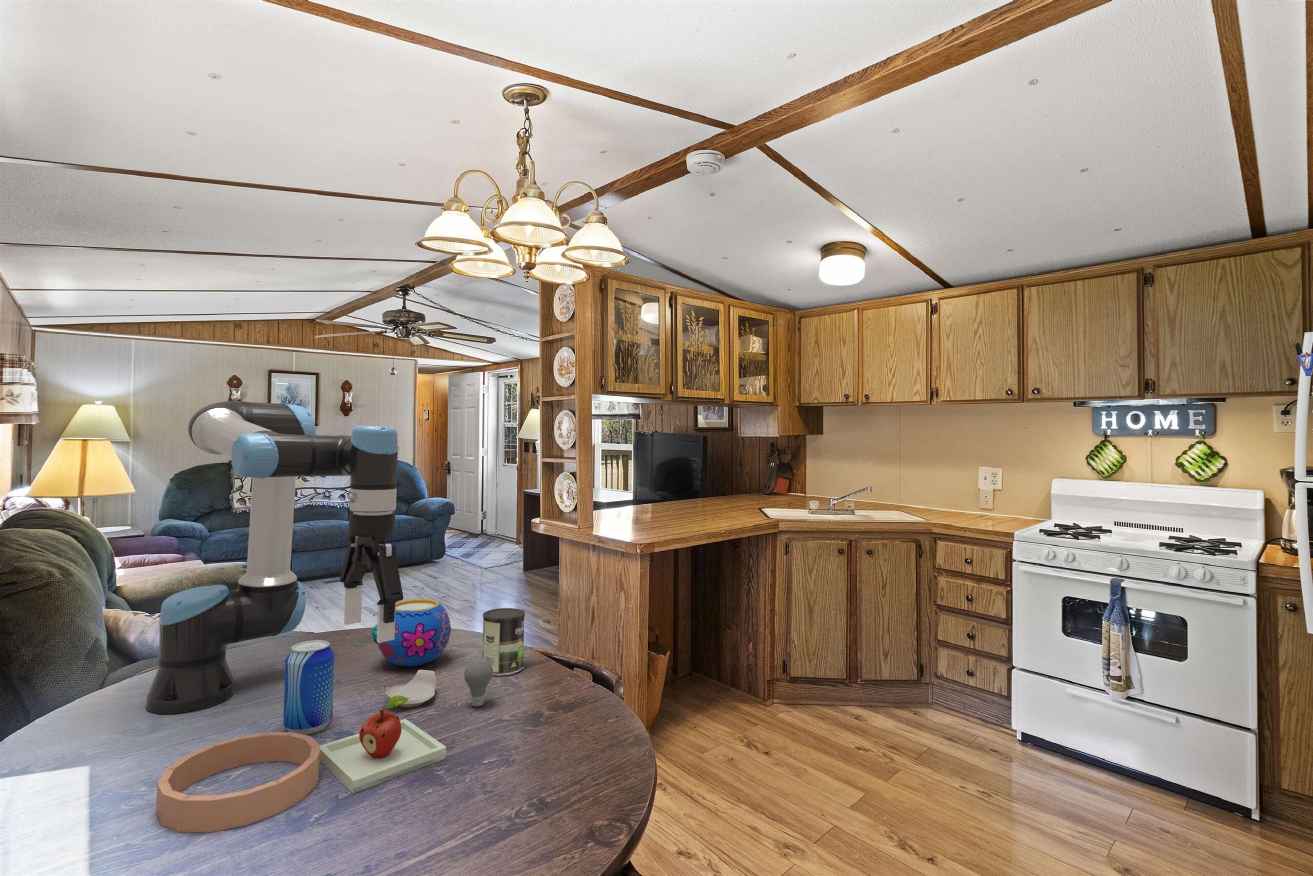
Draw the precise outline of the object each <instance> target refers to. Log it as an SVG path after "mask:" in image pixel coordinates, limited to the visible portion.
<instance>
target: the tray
mask: <svg viewBox="0 0 1313 876" xmlns="http://www.w3.org/2000/svg"><path fill="white" fill-rule="evenodd" d="M400 723H401V736H400V738H399V740H398V742H397V743H396V745H395V747H394V748H393V750H392V751H391V752H390V754H389V755H388V756H386V757H371V756H370V755H369V754H368V753H367V752H366V750H365V749H364V747H363V746H362V744H361V741H360V737H359V733H357V734H353V735H350V736H346V737H344V738H340V739H337V740H334V741H331V742H328V743H325V744H320V762H321V763H322V764H323V765H324V766H325V768H327V769H328V771H330V772H331V774H333V775H334V776H335V777H336V778H337V779H338V780H339V781H340V782H341V783H342V785H344V786H345V787H346V788H347V789H348V790H349V791H350V792H351V793H352V794H355V793H358V792H362V791H364V790H366V789H369V788H372V787H375V786H377V785H379V784H382V783H384V782H388V781H390V780H394V779H396V778H398V777H401V776H403V775H406V774H408V773H409V774H410V773H411V772H414V771H417V770H419V769H422V768H424V767H427V766H430V765H432V764H435V763H438V762H441V761H443V760H446V759H447V746H446V745H444V744H443V743H441V742H440V741H438V740H437V739H435V738H434V737H433V736H431V735H429V733H427V732H425V731H424V730H422V729H421V728H419V727H418V726H417V725H415V724H414V723H412V722H410V720H408V719H406V718H403V719H402V720H400Z"/></svg>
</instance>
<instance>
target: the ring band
mask: <svg viewBox="0 0 1313 876" xmlns="http://www.w3.org/2000/svg"><path fill="white" fill-rule="evenodd" d="M320 746H321V744H320V743H319V742H317V741H316V740H315V739H314V738H313V737H312V735H311V736H310V735H308V734H306V735H302V734H298V733H294V732H288V731H281V732H279V731H277V732H276V731H275V732H274V731H268V732H262V733H261V732H260V733H255V734H248V735H242V736H237V737H234V738H230V739H226V740H223V741H219V742H216V743H212V744H210V745H207V746H205V747H202V748H200V749H198V750H196V751H193V752H192V753H188V754H187V755H185V756H183V757H182V758H180V759H178V760H177V761H176V762H175V763H172V765H170V766H168V767H167V768H165V770H164V772H163V773H162V775H161V776H160V778H159V779H158V781H157V782H156V804H155V805H156V806H155V807H156V808H155V810H156V812H155V813H156V815H157V818H158V820H159V823H160V825H161V826H162V827H165V828H168V829H170V830H173V831H175V832H176V831H177V832H179V833H214V832H220V831H223V830H224V831H225V830H229V829H234V828H239V827H244V826H248V825H251V824H254V823H257V822H259V821H262V820H264V819H267V818H270V817H272V816H275V815H278V814H280V813H282V812H283V811H285V810H287V809H288V808H290V807H292V806H293V805H296V804H297V803H298V802H300V801H302V800H303V799H305V798H306V796H307V795H309V793H310V792H311V791H312V790H313V789H314V788H315V787H316V786H317V785H318V780H319V775H320V762H321V761H320ZM263 762H264V763H265V762H289V763H292V764H297V765H300V766H298V768H296V769H295V770H292V771H290V772H289V773H287V774H284V775H283V776H281V777H280V778H278V779H276V780H273V781H270V782H267V783H264V784H261V785H259V786H256V787H253V788H249V789H247V790H240V791H236V792H235V791H234V792H229V793H225V794H219V795H188V794H186V793H183V792H184V791H185V790H186V789H187V788H188V787H190V786H191V785H193V784H195V783H197V782H199V781H201V780H204V779H205V778H207V777H209V776H211V775H214V774H216V773H220V772H223V771H226V770H227V771H228V770H229V769H232V768H236V767H239V766H246V765H249V764H250V765H251V764H257V763H263Z"/></svg>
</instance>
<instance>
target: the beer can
mask: <svg viewBox="0 0 1313 876" xmlns="http://www.w3.org/2000/svg"><path fill="white" fill-rule="evenodd" d="M290 649H291V651H290V652H289V653H288V655H287V656H286V658H285V663H284V664H285V665H284V667H285V668H284V692H283V693H284V695H283V697H284V698H283V700H284V702H283V728H284V729H286V730H287V731H286V732H294V733H298V734H302V735H311V734H315V733H318V732H320V731H322V730H324V729H326V727H328V724H329V723H330V721H331V720H332V719H333V714H334V713H333V709H334V707H333V706H334V702H333V701H334V680H335V679H334V677H335V676H334V675H335V652H334V651H333V650H332V648H331V646H330V642H329V641H328V640H320V639H316V640H315V639H314V640H305V641H302V642H298V643H295V644H294V645H292V646H291V647H290Z"/></svg>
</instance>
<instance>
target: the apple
mask: <svg viewBox="0 0 1313 876" xmlns="http://www.w3.org/2000/svg"><path fill="white" fill-rule="evenodd" d="M408 699H409V698H406V697H403V696H399V695H398V696H397V697H396V696H394V697H392V698H391V699H388V701H387V702H386V705H385V707H384V709H383V707H380V708H379V710H378V711H379V713H375V714H374V715H372V716H370V717H369V718H367V720H365V722H363V723H362V726H361V727H360V730H359V733H358V734H359V737H360V741H361V744H362V746H363V747H364V749H365V750H366V752H367V753H368V754H369V755H370V756H371V757H386V756H388V755H389V754H390V752H391V751H392V750H393V748H394V747H395V745H396V743H397V742H398V740H399V738H400V736H401V723H400V721H401V720H400V718H399V717H398V715H396V714H395V713H394V712H391V711H387V712H385V710H387V709H388V710H389V709H393V708H396V707H400V705H401V704H403V703H406V702H407V700H408Z"/></svg>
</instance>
